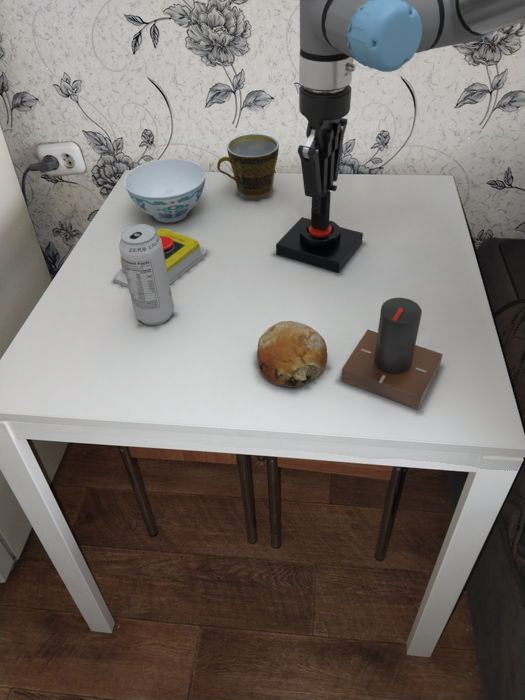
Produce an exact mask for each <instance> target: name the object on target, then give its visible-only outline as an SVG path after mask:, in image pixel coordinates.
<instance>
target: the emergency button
mask: <svg viewBox="0 0 525 700" xmlns="http://www.w3.org/2000/svg"><path fill="white" fill-rule="evenodd" d="M156 233H157V234H158V236H159V237H160V238H161V240H162V246H163V251H164V257H165V262H166V268H167V273H168V279H169V284H170V285H172V284H173V283H174V282H176V281H177V280H178V279H179V278H181V276H183V275H184V274H185V273H187V272H188V271H189V270H190V269H192V268H193V267H194V266H196V264H198V263H199V262H201V260H202V259H204V258H205V257H206V256H207V255H208V252H207V249H206V248H205V247H202V246H201V245H200V241H198V240H197V239H194V238H191V237H189V236H186V235H183V234H181V233H178V232H175V231H173V230H170V229H167V228H160V229H158V230H157V231H156ZM120 264H121V269H120V270H119V271H118V272H116V273H115V274H114V275H113V281H114V282H115V283H116V284H119V285H121V286H123V287H126V288H128V289H129V286H128V282H127V278H126V274H125V270H124V266H123V262H122V257H121V256H120Z"/></svg>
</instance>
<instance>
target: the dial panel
mask: <svg viewBox="0 0 525 700" xmlns="http://www.w3.org/2000/svg"><path fill="white" fill-rule="evenodd" d="M377 335H378V331H374V330H371V329H366V331H365V333H364V334H363V336H362V337H361V338H360V341H359V342H358V343H357V345H356V347H355V348H354V350H353V351H352V352H351V354H350V355H349V357H348V359H347V361H346V362H345V364H344V365H343V366H342V368H341V377H340V378H341V379H340V381H341V382H342V383H345V384H347V385H350V386H353V387H355V388H358V389H361V390H363V391H367V392H369V393H372V394H373V395H377V396H380V397H382V398H385V399H388V400H390V401H392V402H396V403H398V404H402V405H404V406H407V407H409V408H412V409H415V410H417V411H419V410H420V408H421V406H422V403H423V401H424V400H425V397H426V396H427V393H428V391H429V390H430V388H431V386H432V384H433V382H434V379H435V378H436V375H437V373H438V371H439V369H440V367H441V362H442V358H443V353H442V352H439V351H435V350H432V349H429V348H426V347H423V346H420V345H415V350H414V355H413V360H412V365H411V367H410V368H409V369H408V370H407V371H406V372H403V373H400V374H390V373H387V372H384V371H382V370H381V369H379V368H378V367H377V366H376V364H375V361H374V357H375V350H376V342H377Z"/></svg>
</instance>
